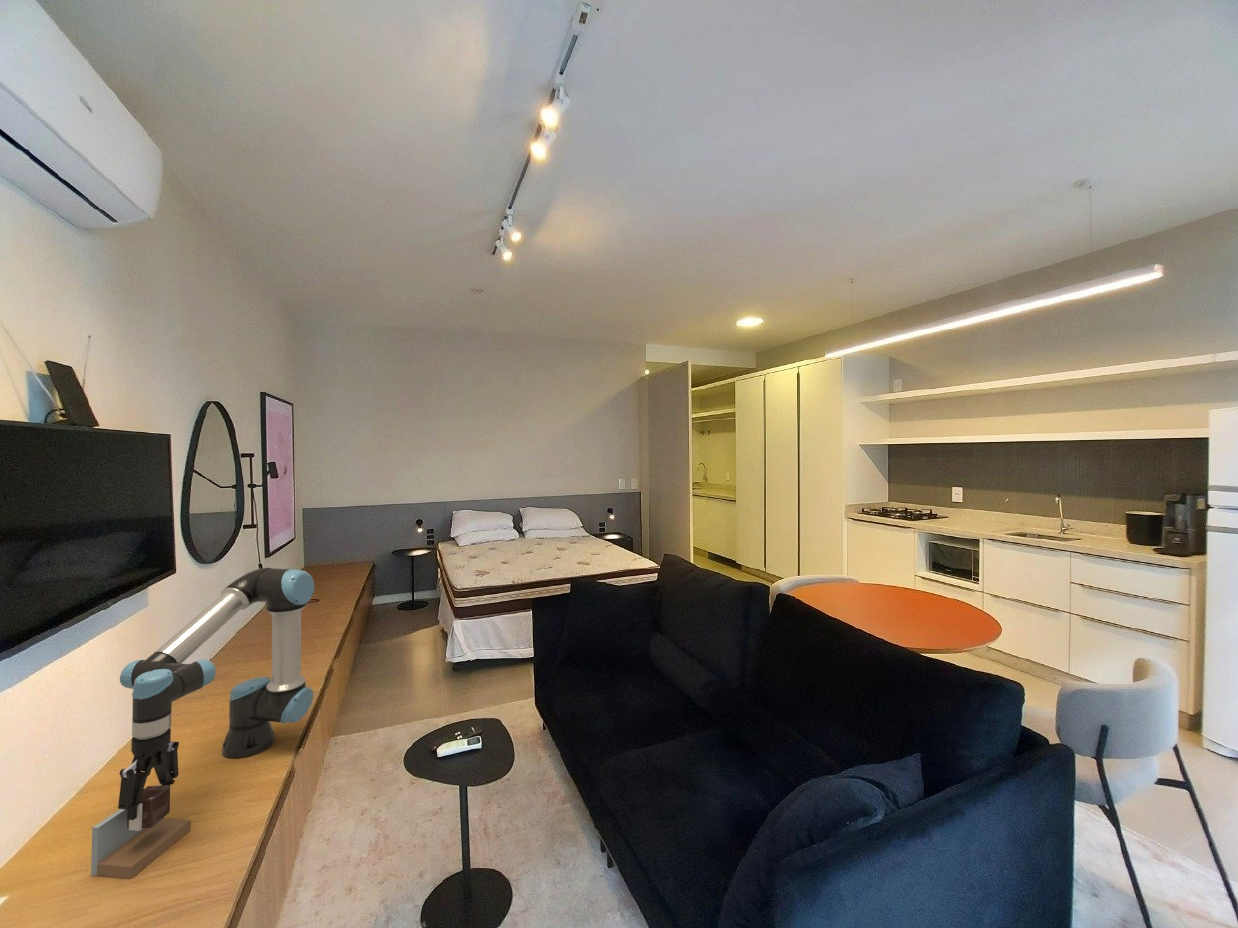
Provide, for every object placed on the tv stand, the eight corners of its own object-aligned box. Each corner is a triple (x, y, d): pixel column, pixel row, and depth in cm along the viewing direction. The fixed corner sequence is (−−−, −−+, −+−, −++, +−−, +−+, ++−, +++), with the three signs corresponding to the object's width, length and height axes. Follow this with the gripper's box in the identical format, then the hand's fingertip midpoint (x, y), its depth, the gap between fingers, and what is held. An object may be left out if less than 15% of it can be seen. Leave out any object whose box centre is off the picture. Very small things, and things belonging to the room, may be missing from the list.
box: (170, 813, 134) (171, 785, 134) (150, 829, 128) (151, 801, 127) (147, 812, 133) (148, 785, 133) (125, 829, 127) (126, 800, 127)
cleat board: (154, 827, 139) (156, 785, 139) (190, 830, 138) (191, 788, 138) (91, 875, 123) (92, 827, 123) (131, 879, 122) (132, 830, 122)
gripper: (172, 712, 140) (170, 794, 140) (97, 752, 121) (94, 847, 121) (198, 714, 140) (195, 796, 140) (126, 755, 120) (123, 849, 121)
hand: (148, 819), depth 130 cm, fingers closed on box, 6 cm apart
